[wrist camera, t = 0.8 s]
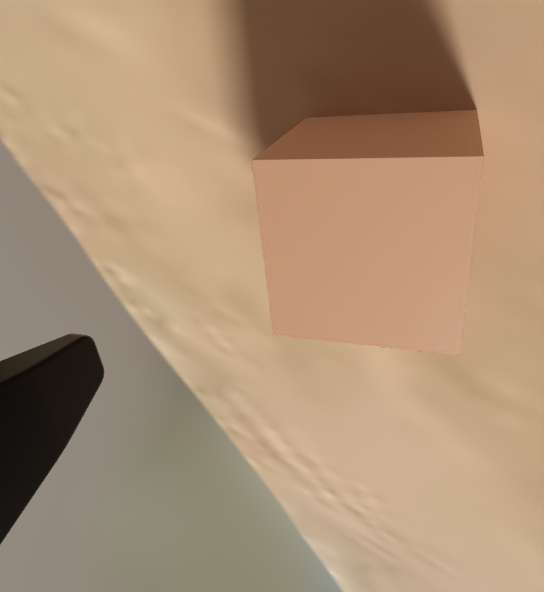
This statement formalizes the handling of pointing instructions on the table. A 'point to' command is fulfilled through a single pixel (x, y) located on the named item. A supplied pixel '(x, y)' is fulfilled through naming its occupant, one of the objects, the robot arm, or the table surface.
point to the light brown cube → (371, 227)
